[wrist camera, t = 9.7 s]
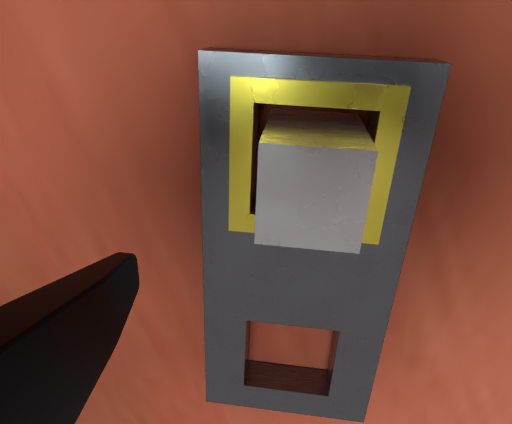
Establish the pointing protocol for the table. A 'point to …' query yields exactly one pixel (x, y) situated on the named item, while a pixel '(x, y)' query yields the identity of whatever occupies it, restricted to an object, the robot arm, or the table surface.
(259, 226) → the grey metal block
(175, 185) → the table surface
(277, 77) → the grey board with holes
